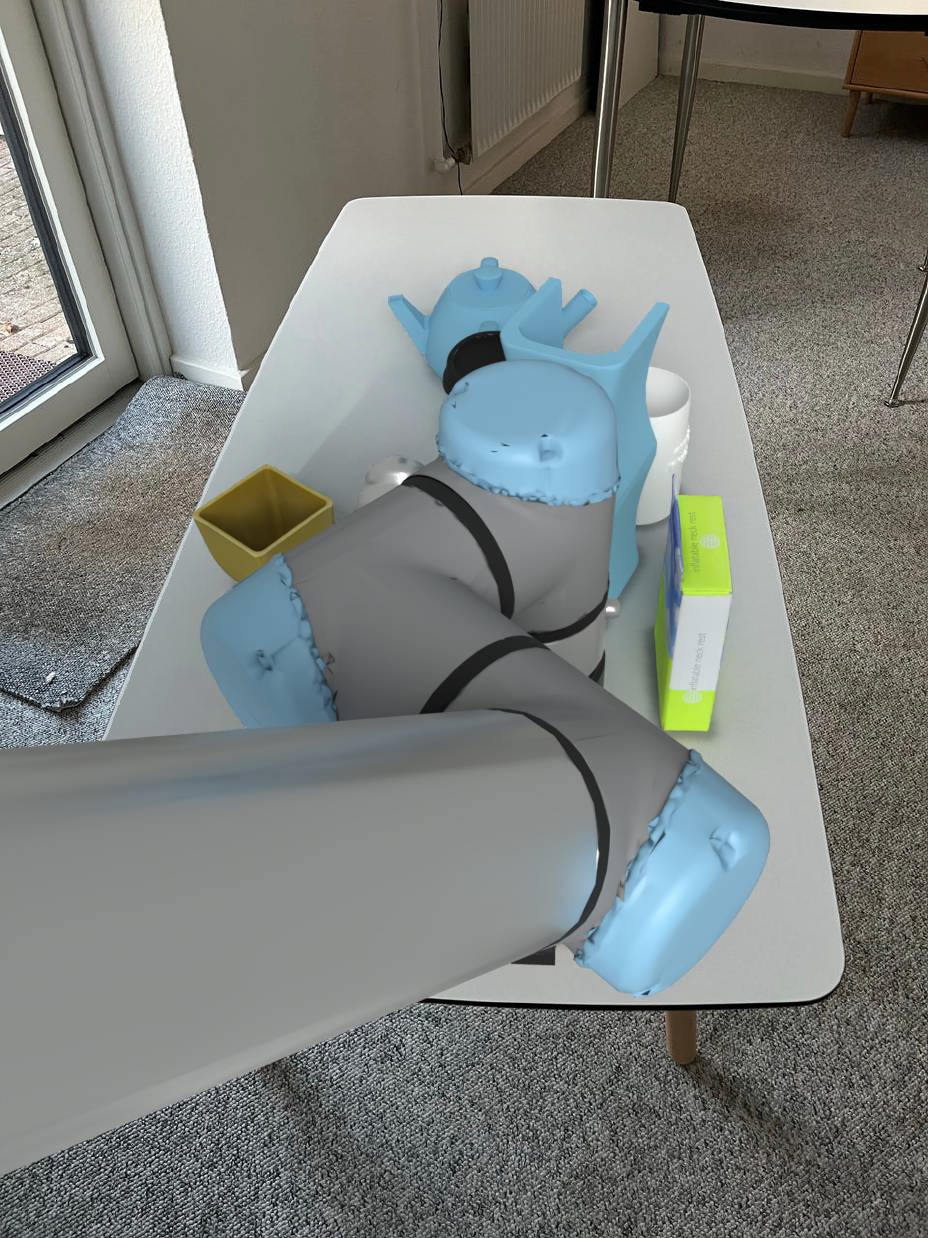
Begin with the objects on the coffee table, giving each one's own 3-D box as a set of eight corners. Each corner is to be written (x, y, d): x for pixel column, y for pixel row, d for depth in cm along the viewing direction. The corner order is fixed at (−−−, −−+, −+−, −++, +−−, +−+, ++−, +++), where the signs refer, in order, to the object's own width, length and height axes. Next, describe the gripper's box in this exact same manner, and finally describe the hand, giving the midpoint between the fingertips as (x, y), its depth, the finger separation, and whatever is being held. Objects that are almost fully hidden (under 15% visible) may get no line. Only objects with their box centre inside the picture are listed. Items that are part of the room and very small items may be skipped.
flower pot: (211, 588, 96) (188, 512, 89) (283, 537, 100) (266, 460, 94) (277, 634, 92) (257, 557, 85) (349, 578, 96) (336, 501, 89)
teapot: (509, 427, 110) (507, 331, 102) (390, 370, 118) (379, 276, 110) (599, 361, 118) (604, 266, 110) (481, 311, 126) (477, 220, 118)
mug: (688, 451, 106) (702, 346, 97) (676, 530, 98) (690, 423, 89) (605, 442, 108) (612, 338, 99) (587, 520, 100) (592, 413, 91)
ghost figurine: (467, 527, 100) (462, 440, 93) (439, 597, 94) (430, 510, 86) (376, 513, 102) (364, 427, 95) (342, 581, 96) (326, 495, 88)
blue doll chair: (645, 552, 96) (671, 303, 78) (601, 624, 91) (617, 373, 72) (547, 521, 100) (549, 275, 82) (498, 588, 94) (489, 339, 76)
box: (710, 734, 82) (742, 572, 70) (656, 732, 83) (678, 571, 70) (700, 633, 89) (726, 470, 77) (650, 632, 90) (668, 469, 77)
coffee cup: (549, 472, 105) (551, 338, 94) (517, 526, 100) (515, 390, 89) (471, 453, 107) (464, 320, 97) (435, 504, 102) (424, 370, 91)
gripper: (614, 865, 46) (596, 1055, 61) (600, 488, 63) (589, 711, 78) (440, 860, 47) (466, 1049, 62) (472, 488, 63) (486, 709, 79)
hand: (534, 861), depth 70 cm, fingers open, 13 cm apart
